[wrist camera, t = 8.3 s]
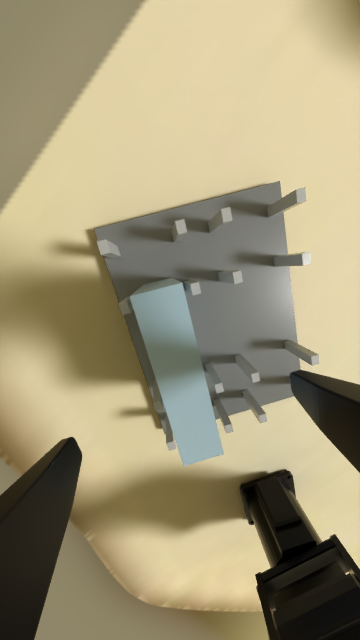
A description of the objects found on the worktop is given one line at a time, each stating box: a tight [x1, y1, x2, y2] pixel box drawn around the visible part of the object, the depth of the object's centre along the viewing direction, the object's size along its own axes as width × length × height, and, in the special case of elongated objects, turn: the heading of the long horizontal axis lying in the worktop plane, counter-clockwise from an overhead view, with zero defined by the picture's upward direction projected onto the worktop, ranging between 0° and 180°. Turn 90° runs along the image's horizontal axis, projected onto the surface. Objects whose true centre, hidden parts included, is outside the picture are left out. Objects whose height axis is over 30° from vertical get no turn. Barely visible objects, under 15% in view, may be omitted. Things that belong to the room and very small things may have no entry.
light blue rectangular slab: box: [130, 277, 224, 466], centre depth 14 cm, size 10×2×8 cm, turn 14°
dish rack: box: [94, 181, 319, 451], centre depth 17 cm, size 20×15×4 cm
